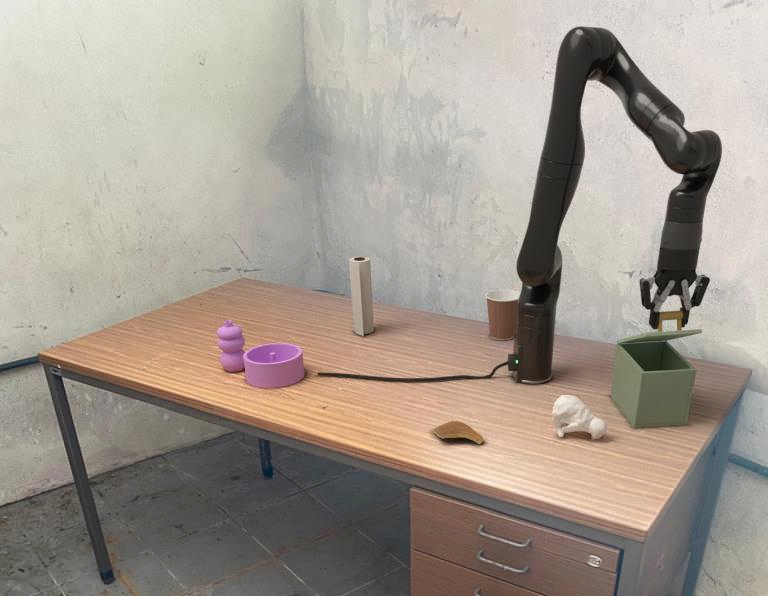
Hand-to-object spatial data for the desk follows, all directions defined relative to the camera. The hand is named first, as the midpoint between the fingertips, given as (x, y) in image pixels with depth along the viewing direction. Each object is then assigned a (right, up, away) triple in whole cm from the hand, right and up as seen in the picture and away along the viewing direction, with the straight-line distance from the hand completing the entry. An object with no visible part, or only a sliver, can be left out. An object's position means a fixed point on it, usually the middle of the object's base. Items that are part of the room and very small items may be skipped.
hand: (667, 326), depth 160 cm
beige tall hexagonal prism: (-66, +15, +68) cm, 96 cm away
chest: (+1, -15, +15) cm, 21 cm away
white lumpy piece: (-17, -22, +6) cm, 29 cm away
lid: (0, -1, +6) cm, 6 cm away
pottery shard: (-43, -22, +8) cm, 49 cm away
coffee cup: (-25, +12, +60) cm, 66 cm away
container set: (-92, -2, +44) cm, 102 cm away
